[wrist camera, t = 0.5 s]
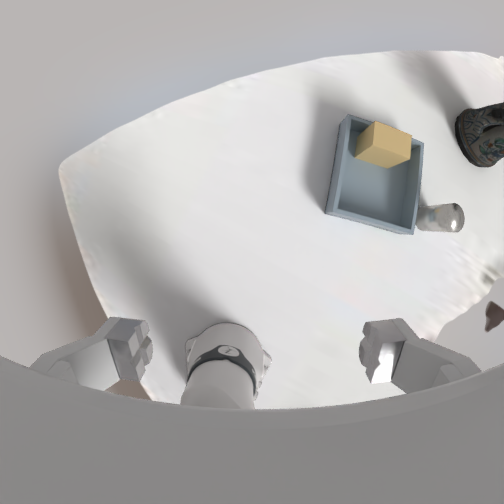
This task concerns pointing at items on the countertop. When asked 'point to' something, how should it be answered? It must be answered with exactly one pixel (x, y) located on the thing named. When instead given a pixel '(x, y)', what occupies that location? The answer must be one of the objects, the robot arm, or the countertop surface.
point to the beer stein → (481, 134)
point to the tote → (374, 184)
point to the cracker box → (383, 145)
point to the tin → (440, 218)
